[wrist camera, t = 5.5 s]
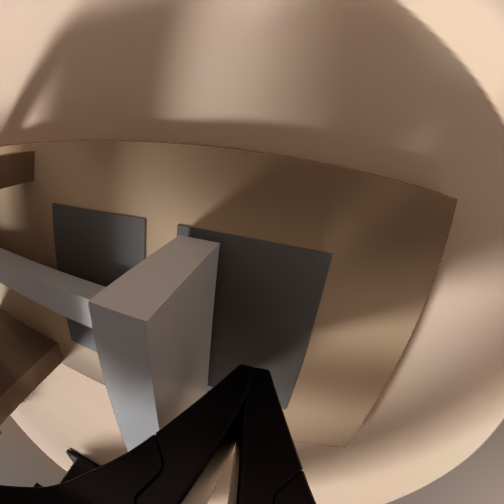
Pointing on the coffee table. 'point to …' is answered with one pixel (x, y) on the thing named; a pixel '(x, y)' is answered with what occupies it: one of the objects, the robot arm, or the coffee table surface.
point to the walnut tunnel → (15, 332)
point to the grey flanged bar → (138, 327)
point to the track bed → (242, 260)
